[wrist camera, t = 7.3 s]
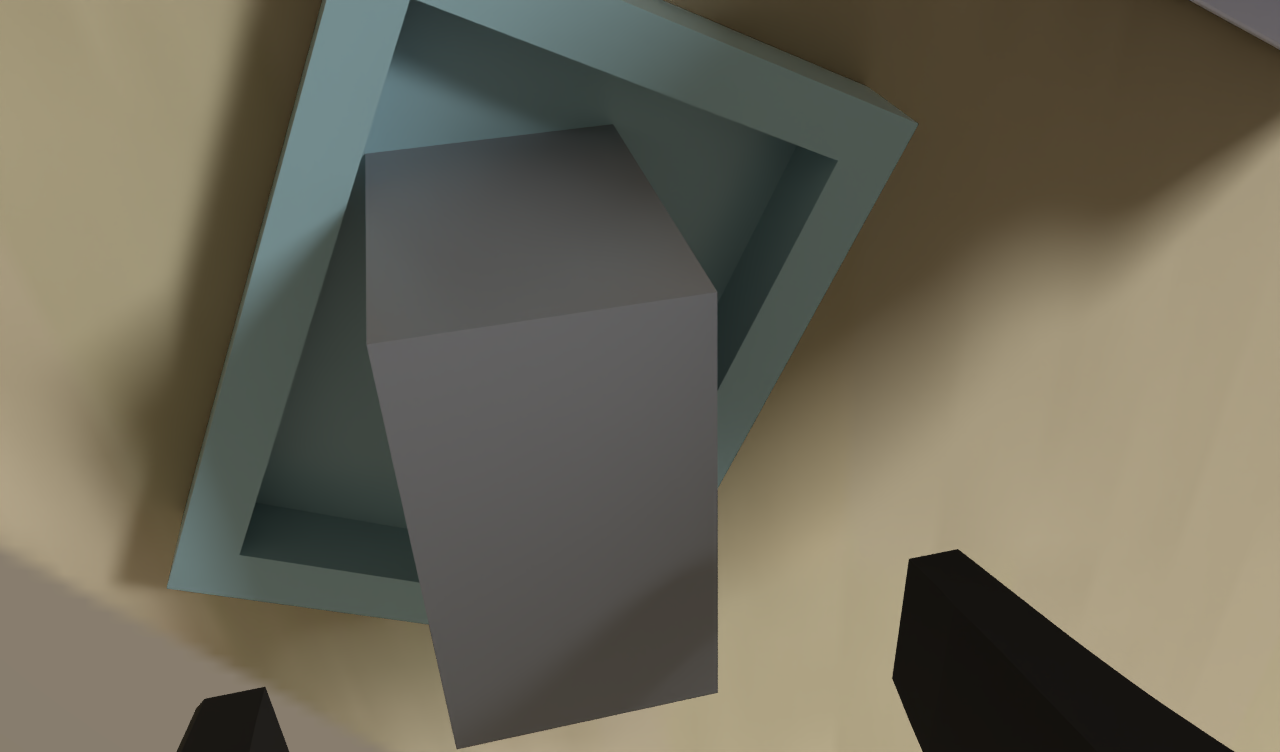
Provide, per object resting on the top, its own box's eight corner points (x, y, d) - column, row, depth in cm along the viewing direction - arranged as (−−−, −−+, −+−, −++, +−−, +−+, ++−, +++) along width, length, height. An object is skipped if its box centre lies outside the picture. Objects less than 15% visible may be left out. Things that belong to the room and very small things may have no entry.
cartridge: (613, 124, 17) (717, 292, 12) (633, 464, 21) (717, 697, 16) (365, 153, 16) (366, 344, 11) (434, 499, 20) (457, 753, 15)
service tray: (868, 86, 18) (918, 123, 16) (607, 588, 23) (625, 655, 21) (357, -129, 14) (356, -110, 13) (182, 519, 20) (165, 592, 18)
